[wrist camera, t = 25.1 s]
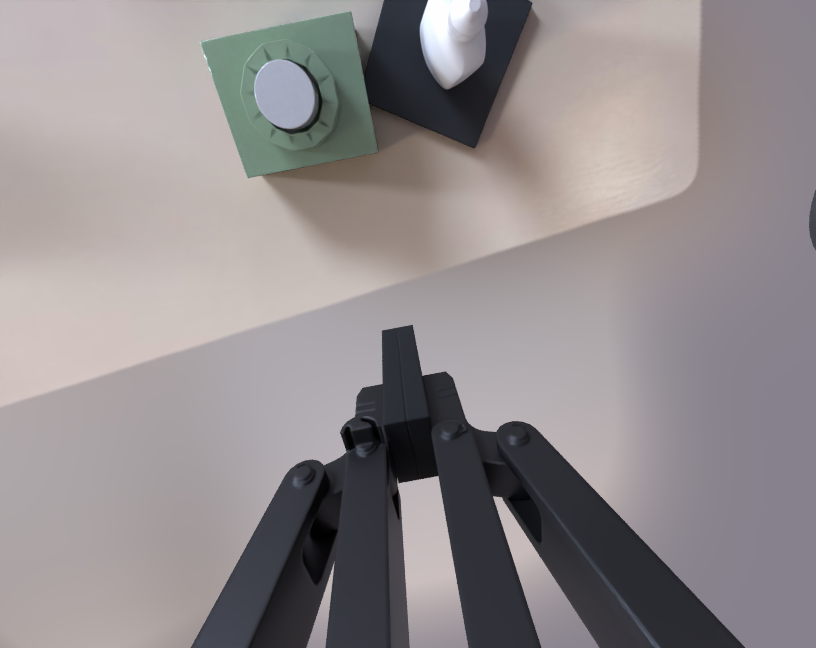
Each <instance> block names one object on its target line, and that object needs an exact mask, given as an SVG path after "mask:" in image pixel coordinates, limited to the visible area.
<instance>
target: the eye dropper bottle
mask: <svg viewBox="0 0 816 648" xmlns="http://www.w3.org/2000/svg"><path fill="white" fill-rule="evenodd" d="M486 2H487V1H486V0H428V3H427V6H426V8H425V11H424V15H423V18H422V21H421V24H420V39H421V46H422V51H423V55H424V58H425V61H426V64H427V66H428V68H429V70H430V72H431V74H432V75H433V77H434V78H435V80H436V81H437V82H438V83H439V85H440V86H442V87H443V88H444V89H450V88H452V87H454V86H456V85H458V84H459V83H461V82H463V81H464V80H465V79H466V78H468V77H469V76H470V75H471V74H472V73H474V72H475V71H476V70H477V69H478V68H479V67H480V66H481V65H482V64H483V62H484V59H485V51H486V36H485V27H484V25H485V22H486V20H487V17H488V16H487V15H488V8H487V7H488V6H487V3H486Z"/></svg>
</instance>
